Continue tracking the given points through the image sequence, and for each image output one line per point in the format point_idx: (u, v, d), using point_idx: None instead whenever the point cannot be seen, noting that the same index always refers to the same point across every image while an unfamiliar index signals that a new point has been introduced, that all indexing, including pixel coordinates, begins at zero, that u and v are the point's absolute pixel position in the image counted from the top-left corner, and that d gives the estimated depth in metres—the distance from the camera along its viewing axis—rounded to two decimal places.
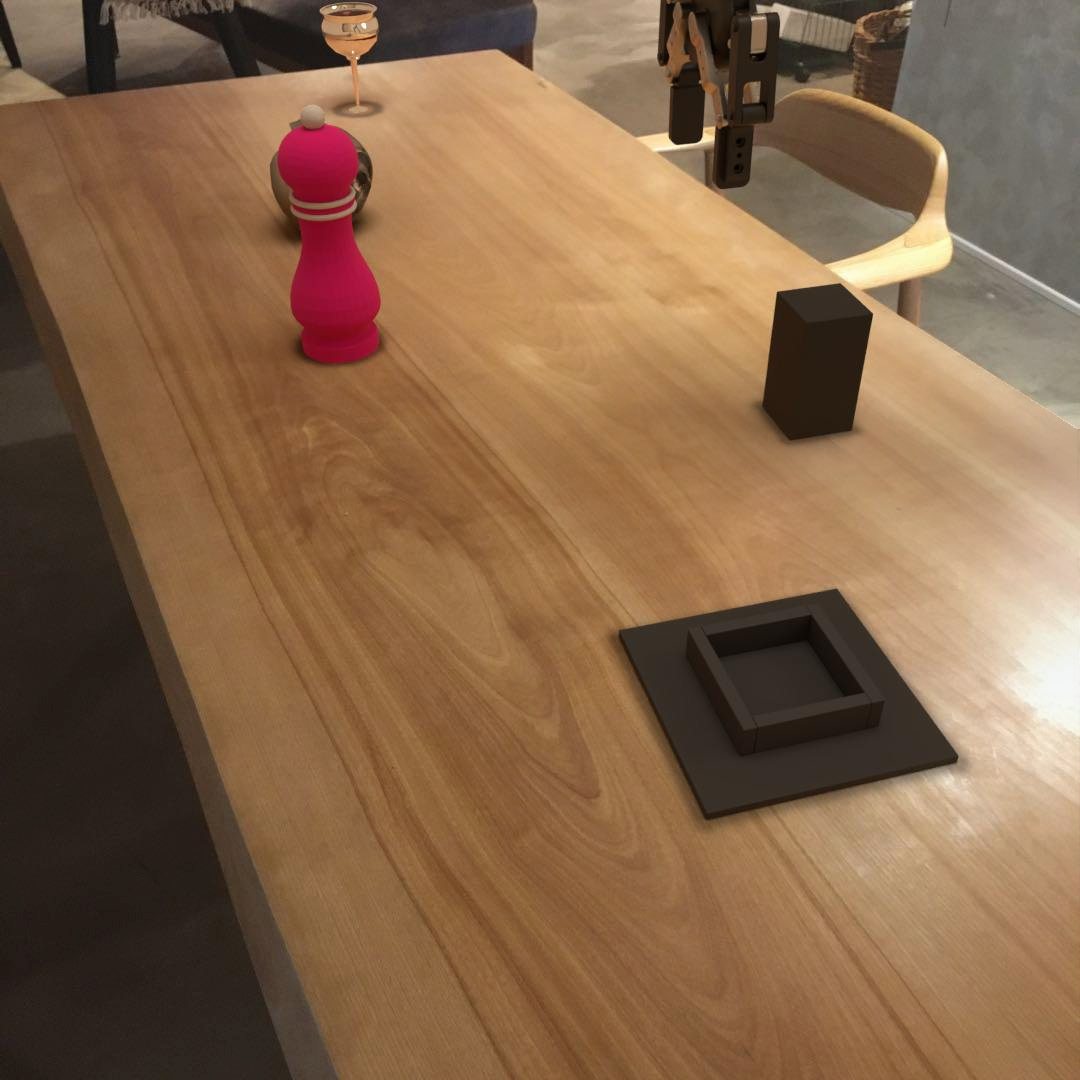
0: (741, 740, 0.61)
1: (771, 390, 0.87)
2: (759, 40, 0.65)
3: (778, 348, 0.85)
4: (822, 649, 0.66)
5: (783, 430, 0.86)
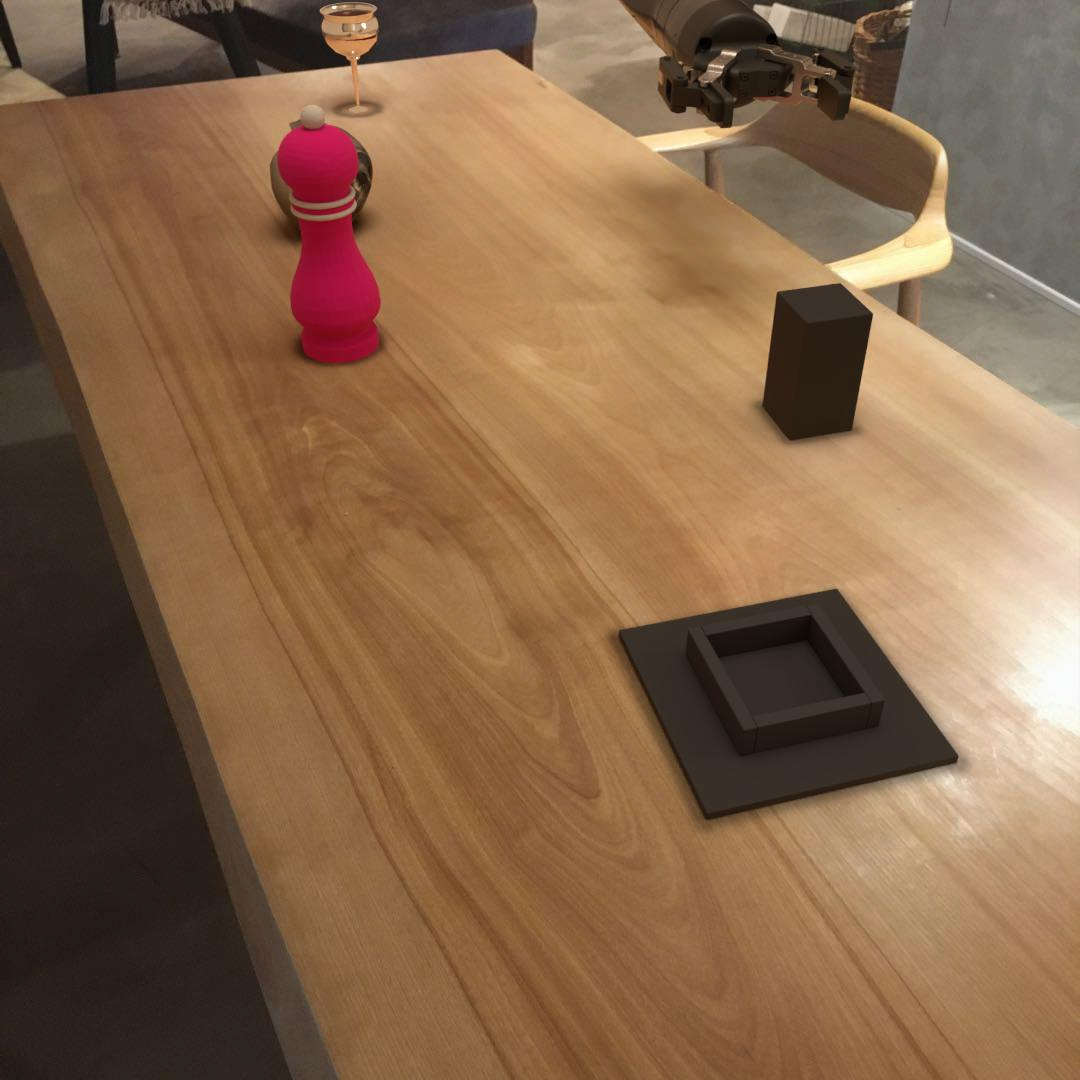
0: (741, 740, 0.61)
1: (771, 390, 0.87)
2: (660, 77, 0.91)
3: (778, 348, 0.85)
4: (822, 649, 0.66)
5: (783, 430, 0.86)
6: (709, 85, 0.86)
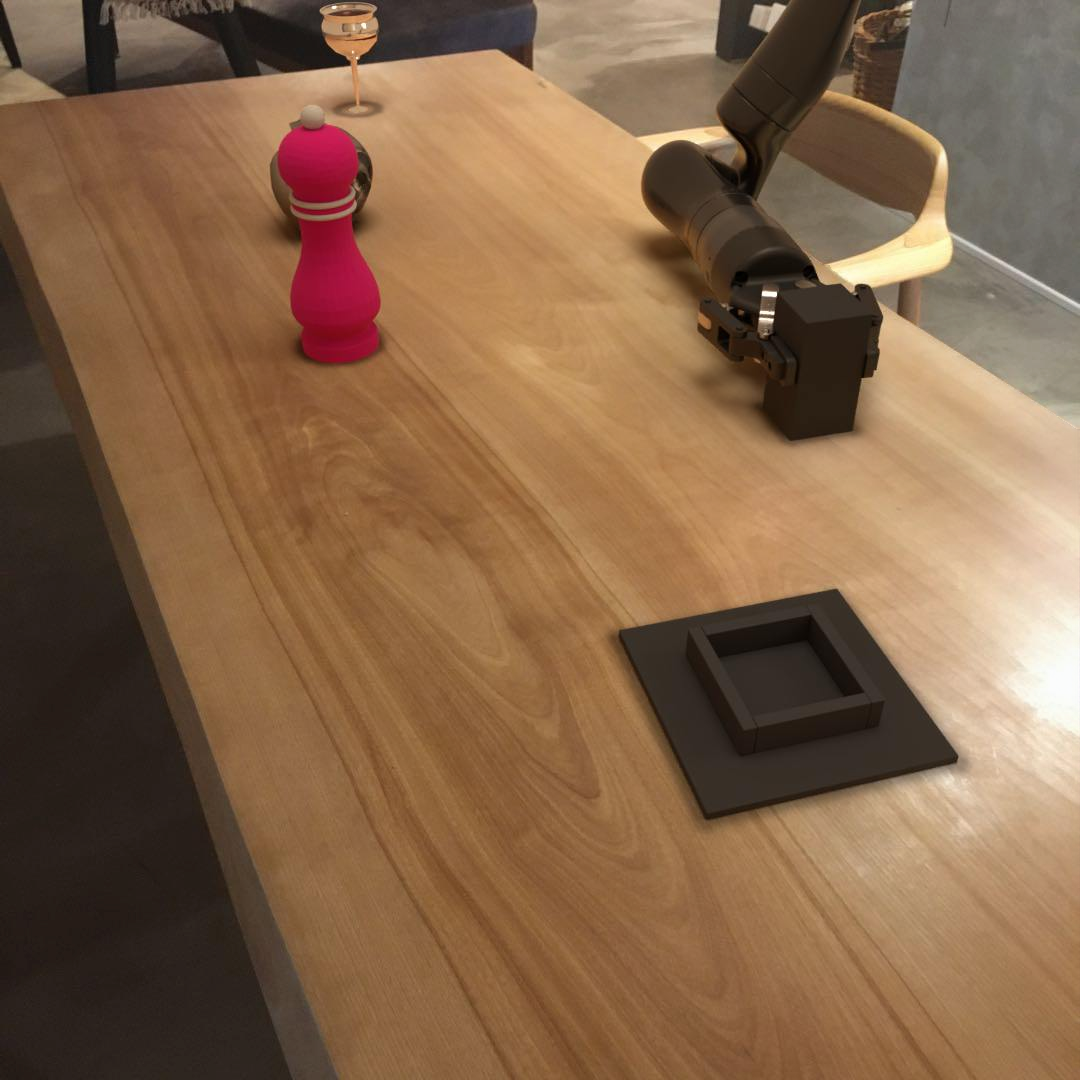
0: (741, 740, 0.61)
1: (771, 390, 0.87)
2: (703, 320, 0.89)
3: None
4: (822, 649, 0.66)
5: (783, 430, 0.86)
6: None
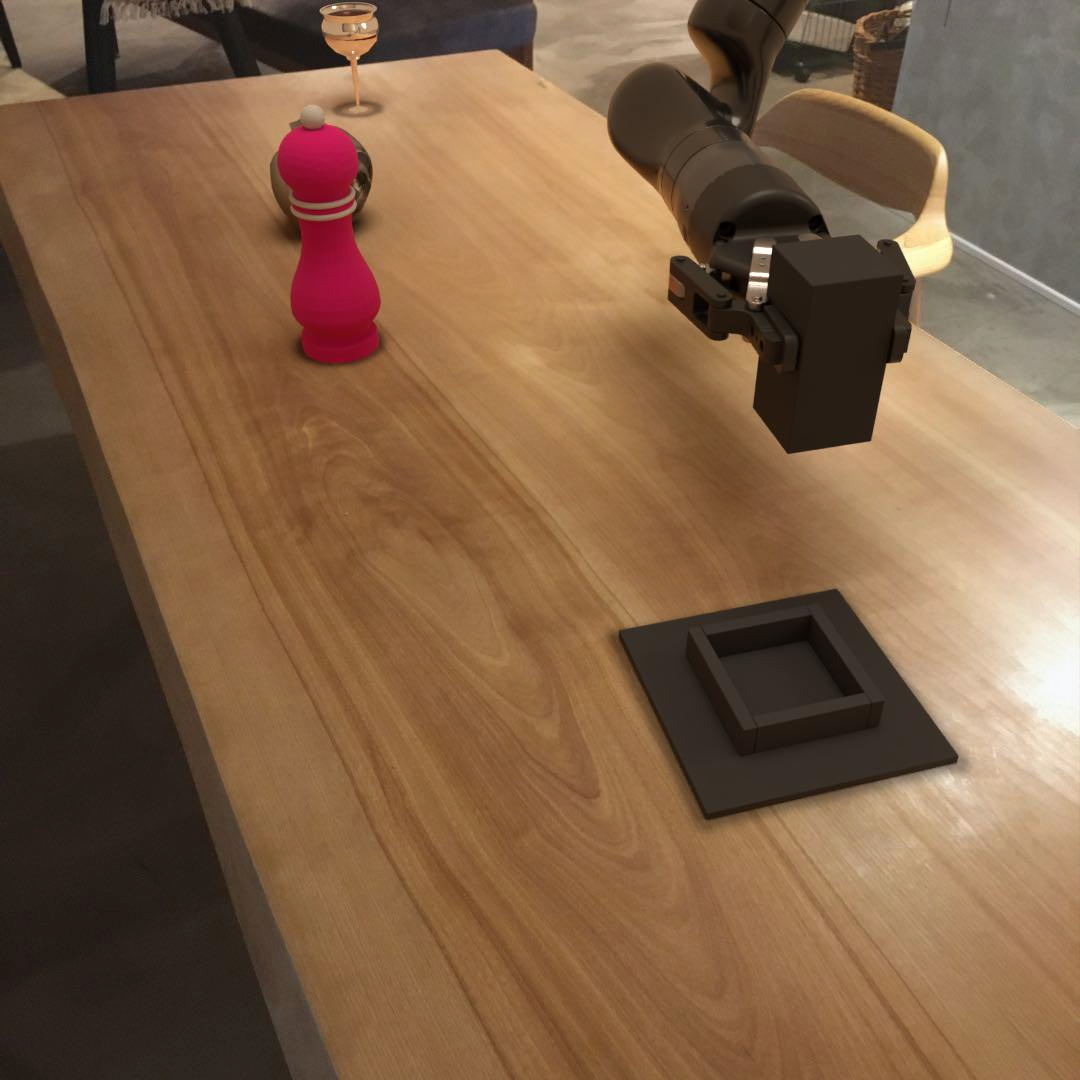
0: (741, 740, 0.61)
1: (765, 379, 0.65)
2: (675, 285, 0.66)
3: None
4: (822, 649, 0.66)
5: (780, 433, 0.64)
6: None
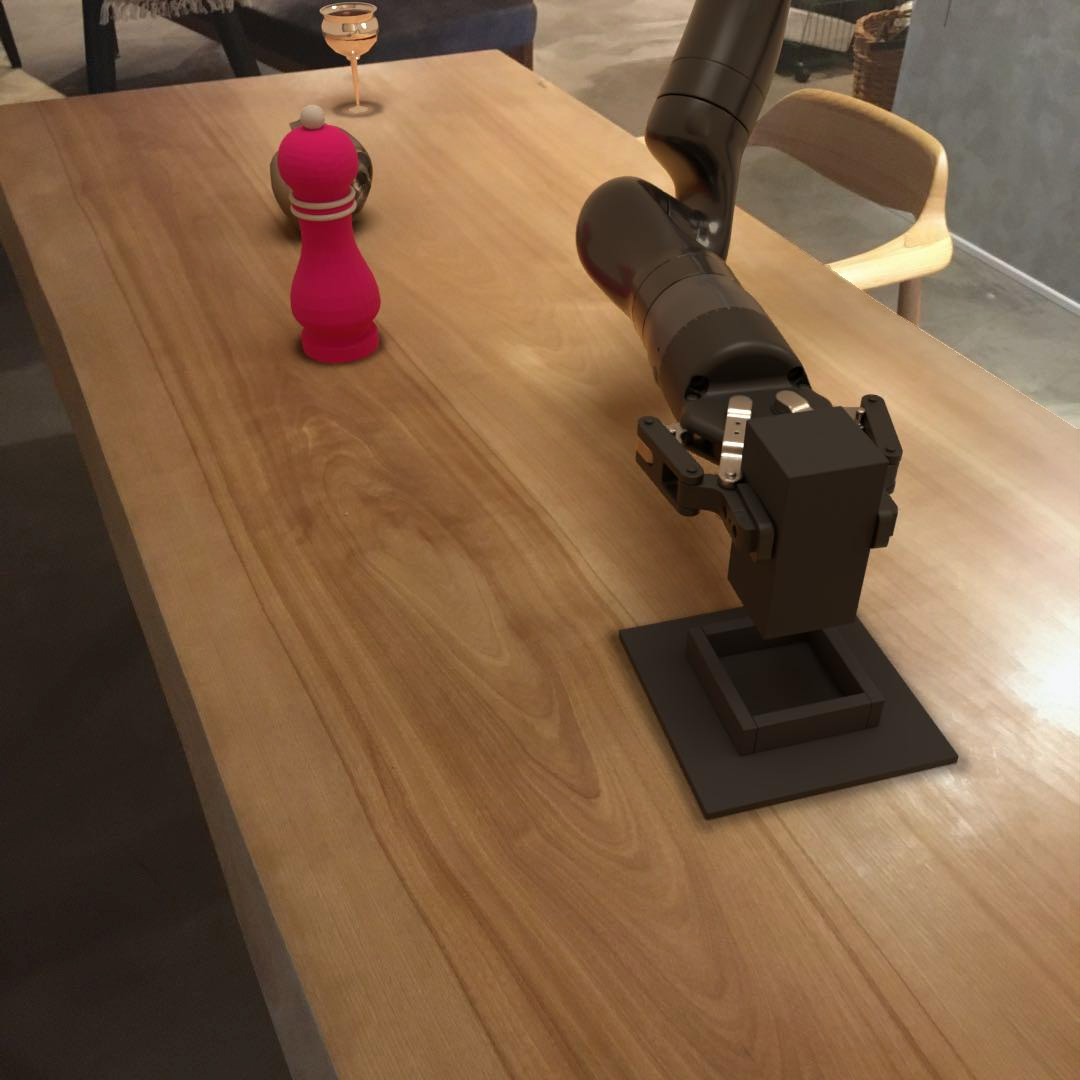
0: (741, 740, 0.61)
1: (739, 555, 0.60)
2: (643, 449, 0.61)
3: None
4: (822, 649, 0.66)
5: (756, 616, 0.59)
6: None
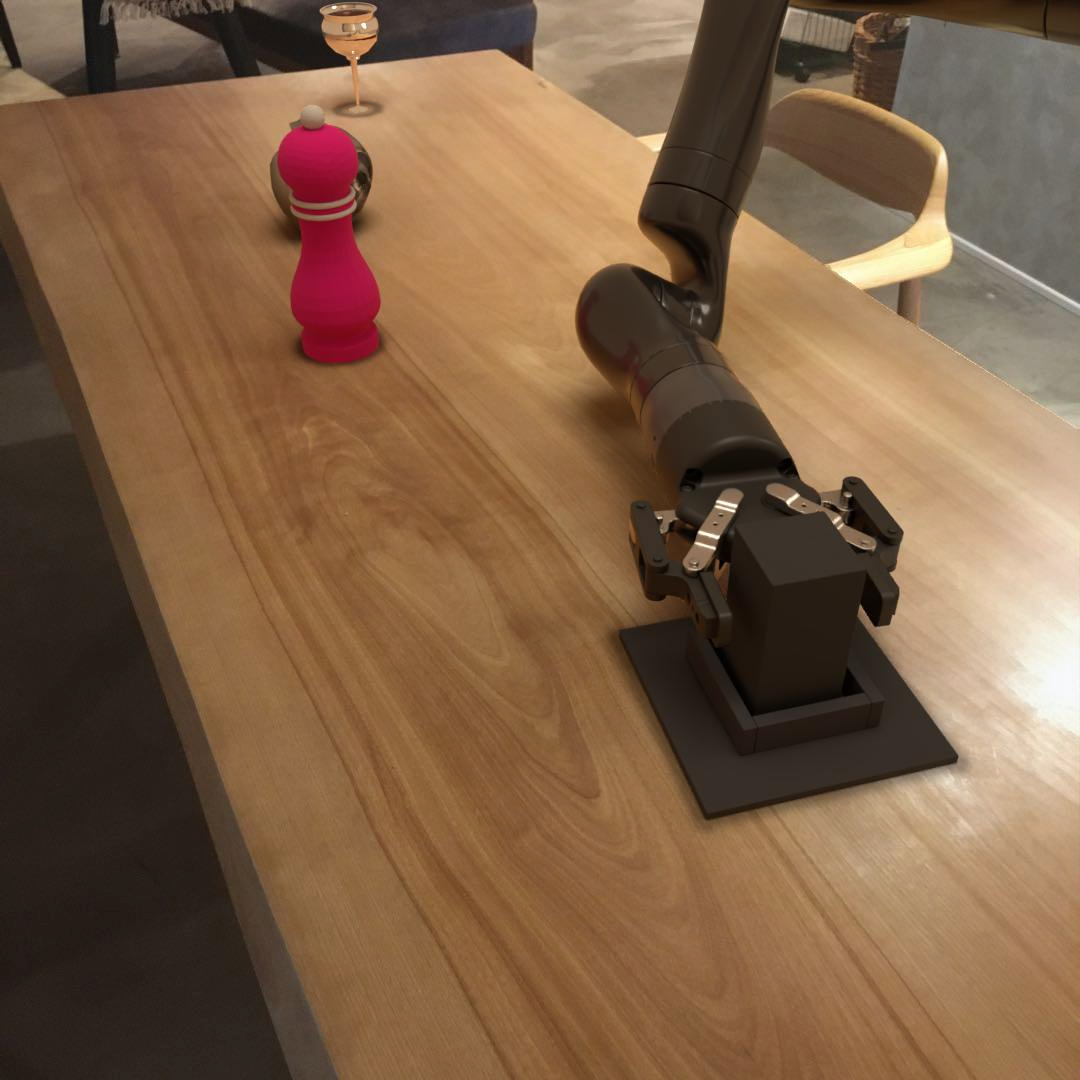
0: (741, 740, 0.61)
1: (729, 646, 0.64)
2: (632, 530, 0.66)
3: (737, 599, 0.62)
4: None
5: None
6: (698, 574, 0.61)
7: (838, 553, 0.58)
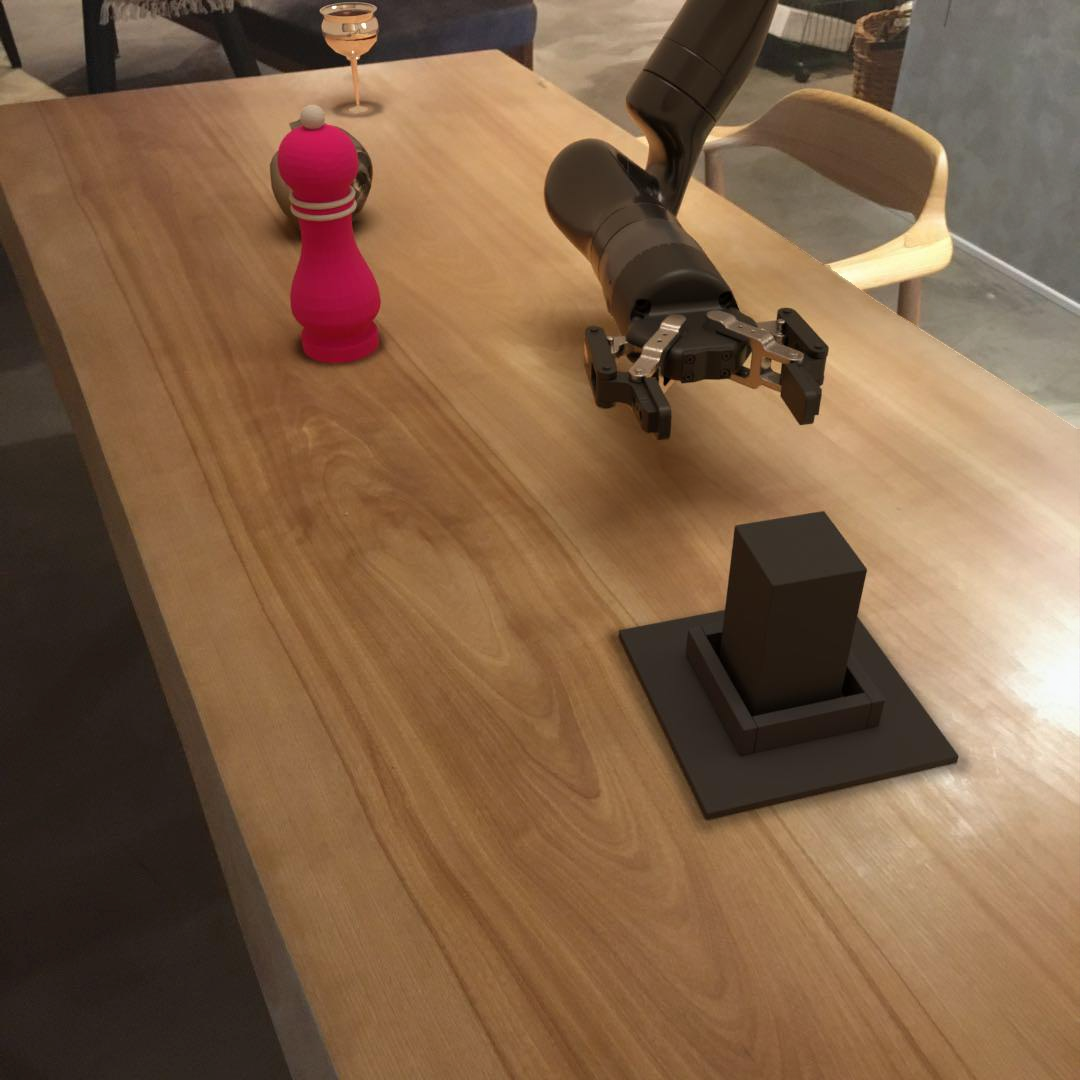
0: (741, 740, 0.61)
1: (729, 646, 0.64)
2: (586, 353, 0.73)
3: (737, 599, 0.62)
4: None
5: None
6: (642, 380, 0.68)
7: (838, 553, 0.58)
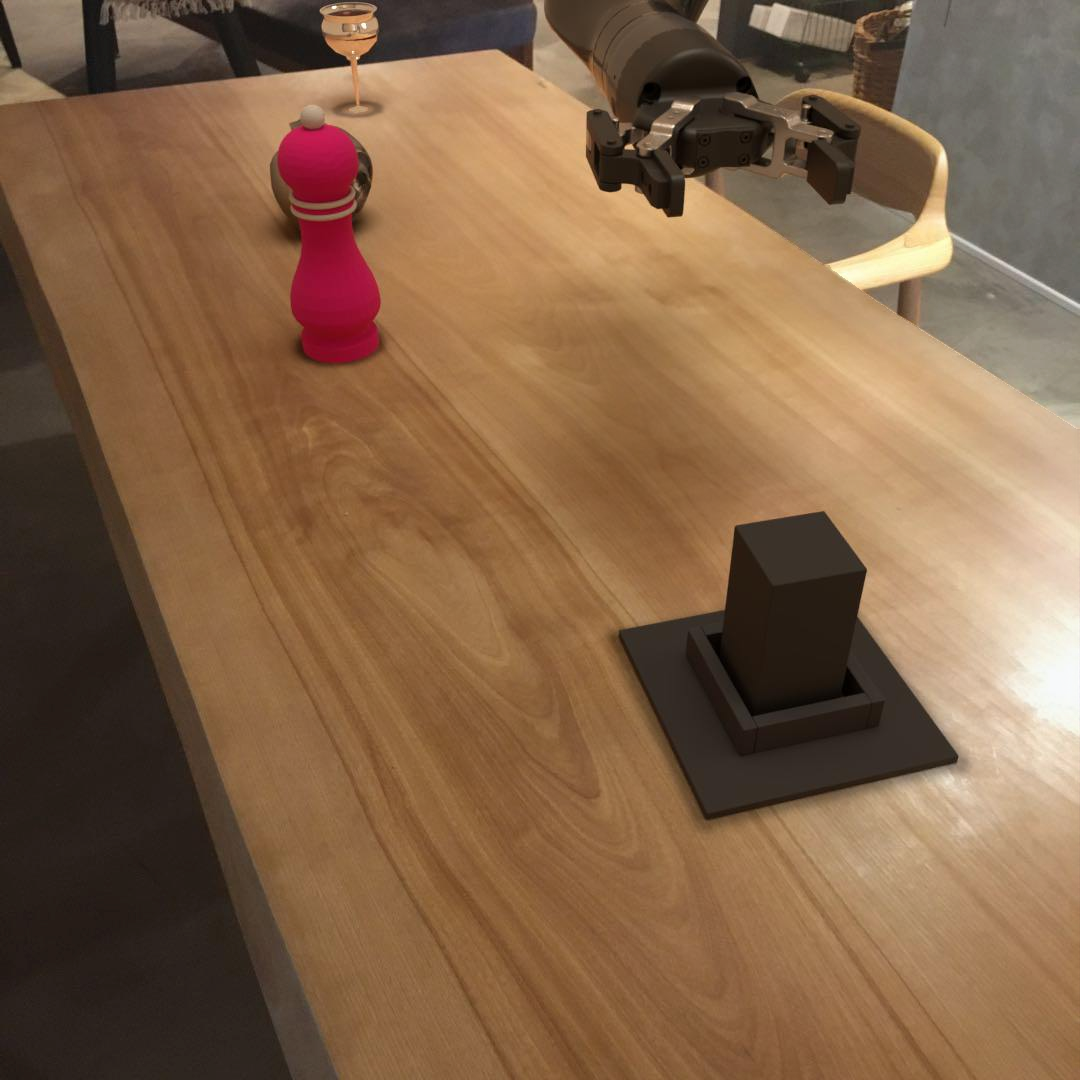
0: (741, 740, 0.61)
1: (729, 646, 0.64)
2: (588, 138, 0.65)
3: (737, 599, 0.62)
4: None
5: None
6: (652, 154, 0.61)
7: (838, 553, 0.58)
